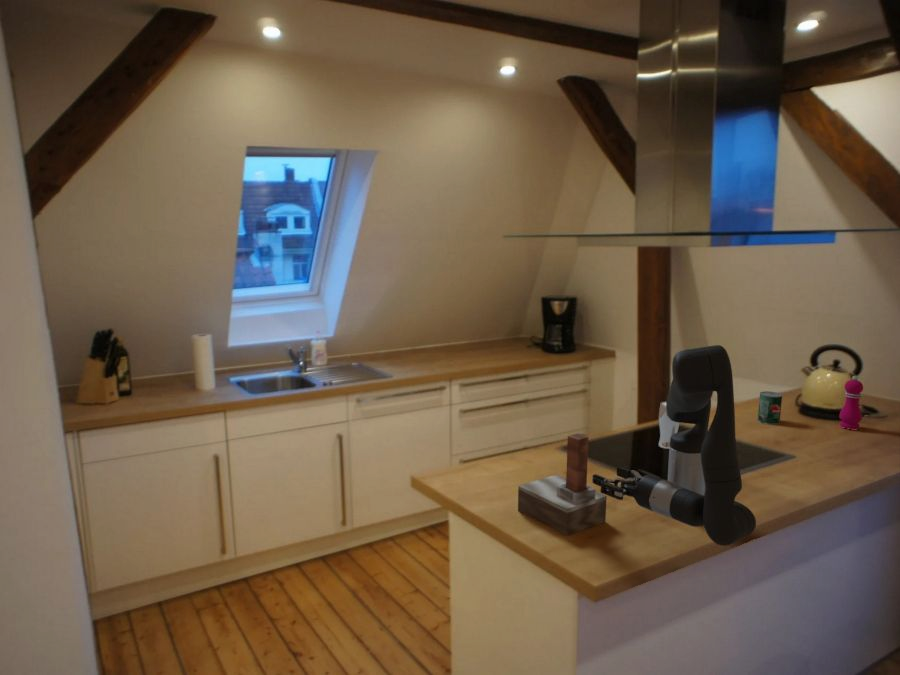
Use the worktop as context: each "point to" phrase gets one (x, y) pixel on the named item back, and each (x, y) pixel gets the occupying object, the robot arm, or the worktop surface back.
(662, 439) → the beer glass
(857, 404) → the pepper mill
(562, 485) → the gray socket block
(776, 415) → the canned tomato
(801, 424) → the worktop surface
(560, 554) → the worktop surface
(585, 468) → the wooden key
